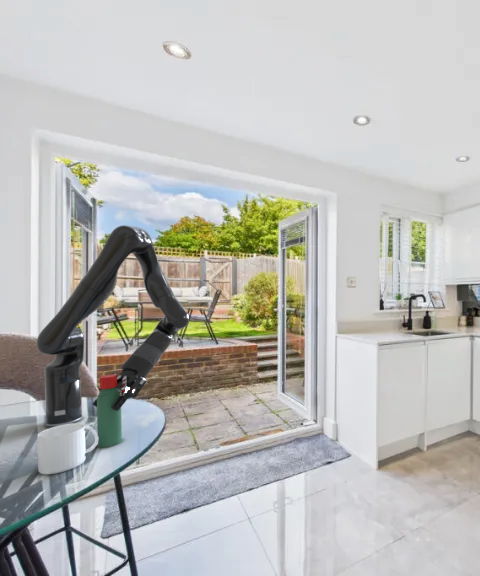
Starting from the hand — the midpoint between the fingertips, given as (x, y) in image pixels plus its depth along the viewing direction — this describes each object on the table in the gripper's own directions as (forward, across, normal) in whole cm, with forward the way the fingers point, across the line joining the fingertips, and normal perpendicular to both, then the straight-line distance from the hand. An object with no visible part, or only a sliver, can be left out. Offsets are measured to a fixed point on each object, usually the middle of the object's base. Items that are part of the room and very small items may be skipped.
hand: (104, 407), depth 103 cm
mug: (+15, +3, +1) cm, 15 cm away
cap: (-5, 0, -3) cm, 6 cm away
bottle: (+7, 0, +9) cm, 11 cm away
